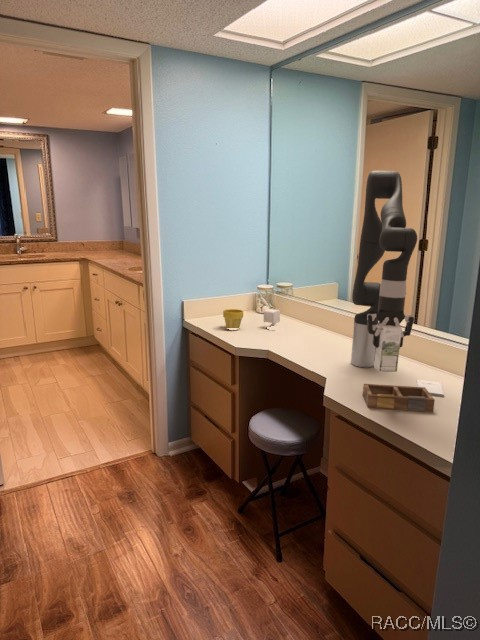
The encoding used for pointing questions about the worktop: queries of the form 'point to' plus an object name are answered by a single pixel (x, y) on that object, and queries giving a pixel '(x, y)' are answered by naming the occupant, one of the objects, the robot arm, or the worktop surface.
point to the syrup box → (388, 349)
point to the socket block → (398, 397)
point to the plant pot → (233, 317)
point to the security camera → (272, 316)
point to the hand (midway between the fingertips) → (387, 347)
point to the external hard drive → (432, 387)
